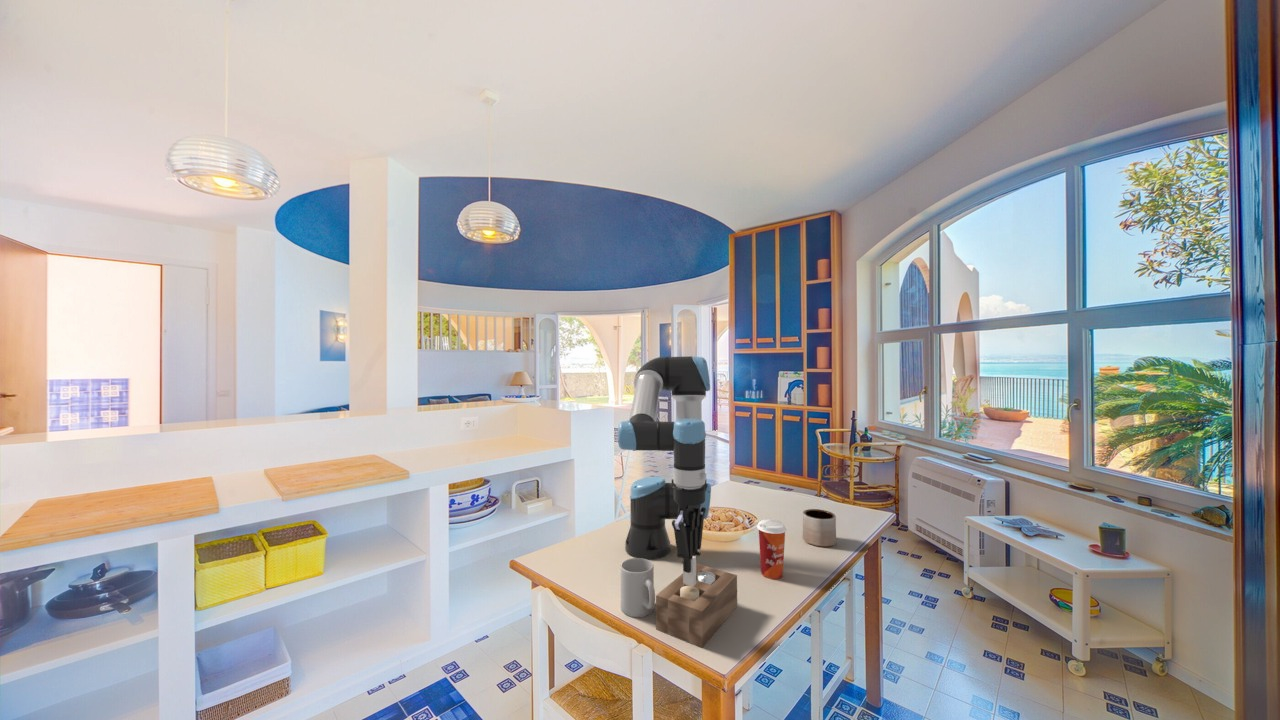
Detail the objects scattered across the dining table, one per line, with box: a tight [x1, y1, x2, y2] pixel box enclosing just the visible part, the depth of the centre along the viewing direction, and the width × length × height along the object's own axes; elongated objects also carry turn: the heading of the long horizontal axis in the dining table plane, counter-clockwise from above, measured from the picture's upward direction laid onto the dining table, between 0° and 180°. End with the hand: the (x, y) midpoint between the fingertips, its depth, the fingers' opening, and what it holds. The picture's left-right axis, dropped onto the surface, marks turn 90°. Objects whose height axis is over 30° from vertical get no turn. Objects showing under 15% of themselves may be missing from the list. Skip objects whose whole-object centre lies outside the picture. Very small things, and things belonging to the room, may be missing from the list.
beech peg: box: [680, 586, 699, 601], centre depth 105 cm, size 4×4×8 cm
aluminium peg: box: [697, 571, 715, 585], centre depth 113 cm, size 4×4×8 cm
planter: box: [802, 508, 837, 548], centre depth 155 cm, size 11×11×10 cm
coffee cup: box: [756, 518, 787, 580], centre depth 131 cm, size 8×8×15 cm
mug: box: [620, 557, 656, 618], centre depth 112 cm, size 12×8×11 cm
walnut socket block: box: [655, 563, 738, 649], centre depth 109 cm, size 12×20×8 cm, turn 146°
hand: (689, 583), depth 106 cm, fingers closed
